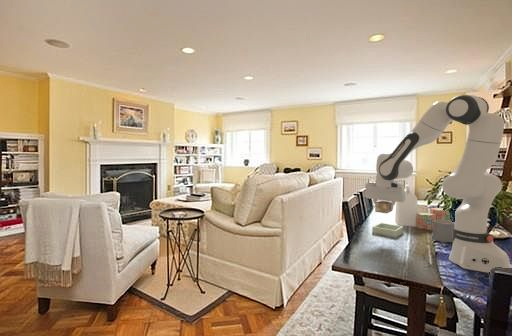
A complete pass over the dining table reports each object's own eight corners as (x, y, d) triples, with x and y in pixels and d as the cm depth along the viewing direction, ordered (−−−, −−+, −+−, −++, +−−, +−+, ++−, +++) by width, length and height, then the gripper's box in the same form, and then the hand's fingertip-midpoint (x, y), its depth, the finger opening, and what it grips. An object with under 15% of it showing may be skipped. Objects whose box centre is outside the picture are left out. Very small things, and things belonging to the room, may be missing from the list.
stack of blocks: (421, 229, 174) (422, 210, 173) (415, 227, 180) (416, 208, 180) (455, 229, 175) (455, 209, 174) (447, 226, 181) (448, 207, 180)
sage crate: (403, 233, 166) (403, 226, 166) (395, 237, 157) (395, 230, 157) (380, 229, 175) (380, 222, 175) (372, 233, 166) (372, 226, 166)
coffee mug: (433, 241, 152) (434, 222, 151) (431, 236, 160) (432, 218, 160) (464, 244, 146) (465, 225, 145) (460, 239, 155) (460, 221, 154)
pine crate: (392, 210, 154) (392, 201, 154) (386, 213, 148) (387, 204, 148) (381, 209, 159) (381, 200, 158) (375, 211, 152) (375, 202, 152)
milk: (417, 226, 181) (419, 186, 179) (398, 225, 184) (399, 185, 183) (413, 222, 192) (414, 184, 191) (395, 221, 196) (396, 183, 194)
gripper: (363, 182, 157) (362, 206, 158) (403, 185, 143) (402, 211, 144) (367, 181, 162) (367, 205, 163) (406, 184, 148) (405, 210, 149)
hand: (384, 208), depth 153 cm, fingers closed on pine crate, 6 cm apart
